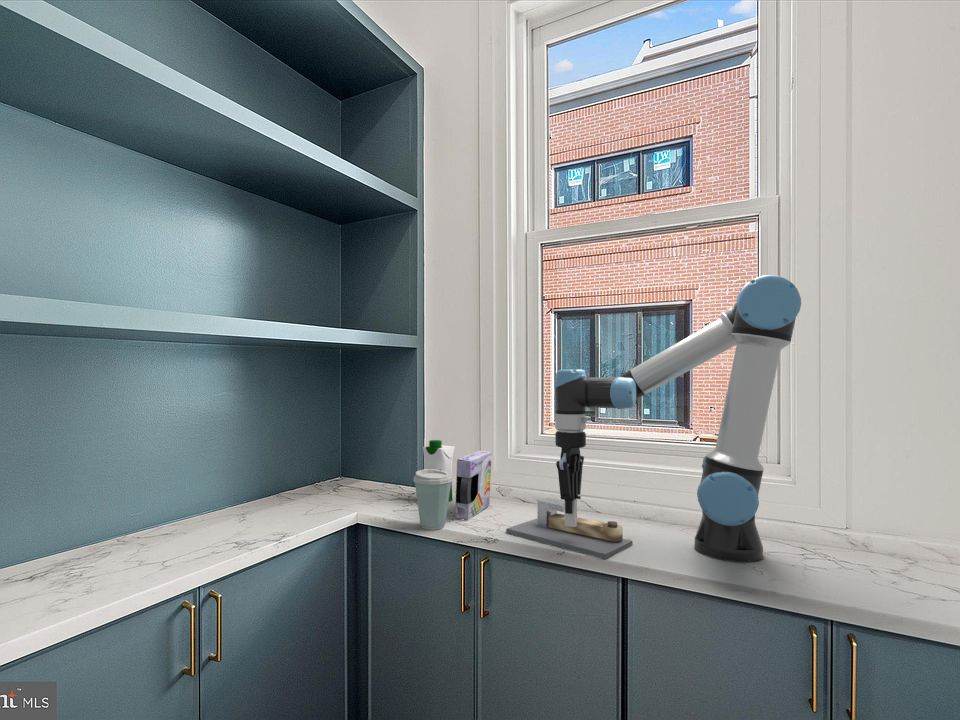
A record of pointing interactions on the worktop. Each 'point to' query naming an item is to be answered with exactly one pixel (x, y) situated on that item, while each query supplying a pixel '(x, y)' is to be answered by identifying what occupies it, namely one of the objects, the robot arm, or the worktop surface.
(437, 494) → the disposable coffee cup
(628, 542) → the board
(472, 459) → the cake pan box
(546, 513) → the block
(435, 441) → the milk carton
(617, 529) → the brass link
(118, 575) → the worktop surface
